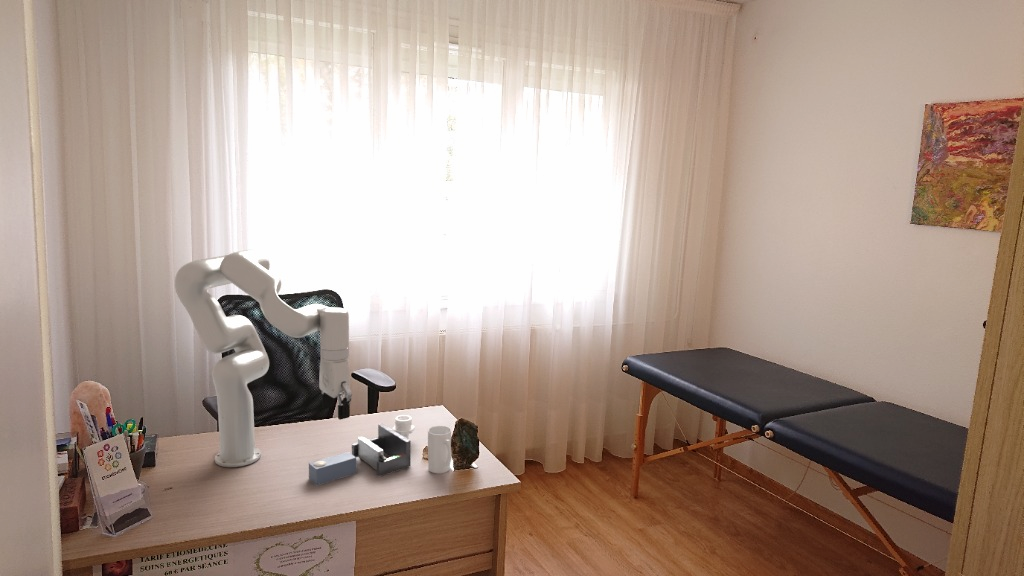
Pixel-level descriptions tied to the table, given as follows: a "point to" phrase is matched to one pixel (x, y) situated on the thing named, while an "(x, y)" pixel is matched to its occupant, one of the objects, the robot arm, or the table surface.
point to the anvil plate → (369, 452)
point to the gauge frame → (390, 450)
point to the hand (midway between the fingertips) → (335, 412)
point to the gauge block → (333, 468)
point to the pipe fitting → (403, 425)
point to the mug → (439, 449)
